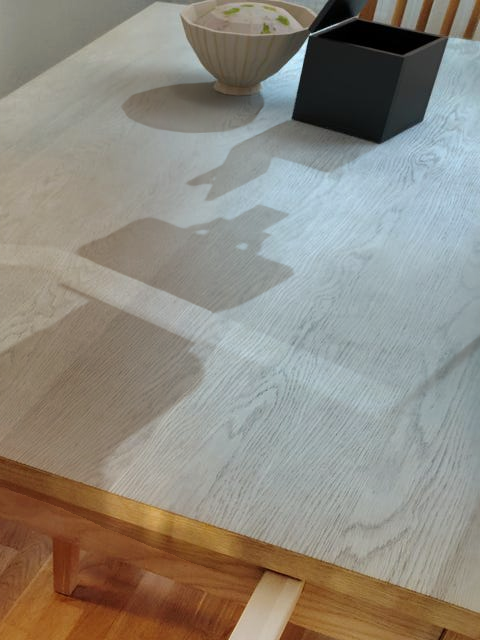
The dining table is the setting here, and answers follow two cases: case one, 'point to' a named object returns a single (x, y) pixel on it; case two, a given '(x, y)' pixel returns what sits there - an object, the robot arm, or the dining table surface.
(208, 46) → the bowl
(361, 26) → the bin
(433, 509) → the dining table surface
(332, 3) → the bin lid
